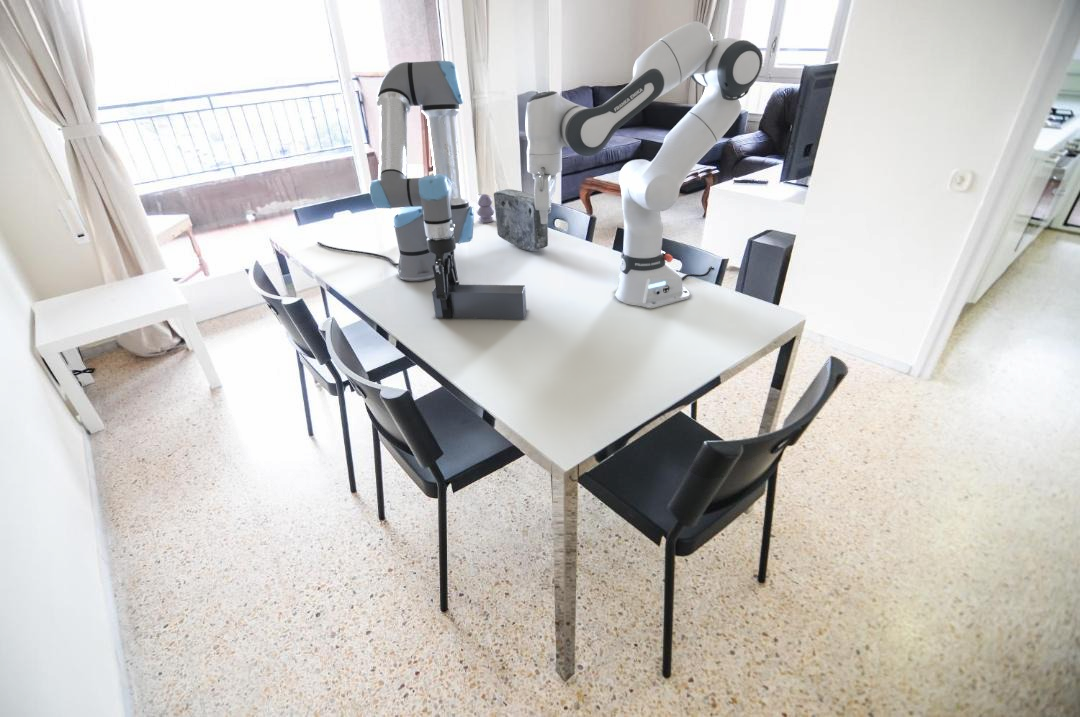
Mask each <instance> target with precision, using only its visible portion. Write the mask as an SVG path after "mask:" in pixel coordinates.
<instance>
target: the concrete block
mask: <svg viewBox="0 0 1080 717" xmlns="http://www.w3.org/2000/svg"><path fill="white" fill-rule="evenodd" d="M493 202H494V214H495V222H496V224H495V225H496V231H497V232H496V233H497V236H498V237H499V238H501V239H503V240H505V241H506V242H508V243H510V244H511V245H513V246H515V247H517V248H518V249H521V250H524V251H530V252H537V251H539V250H541V249H544V248H547V247H548V246H549V228H548V223H549V222H548V223H547V224H541V217H540V213H539V210H536V209H535V199H534V194H533V193H531V192H530V193H529V192H525V191H522V190H517V189H511V188H510V189H509V188H507V189H501V190H498V191H497V190H496V191H495V192H493Z"/></svg>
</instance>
